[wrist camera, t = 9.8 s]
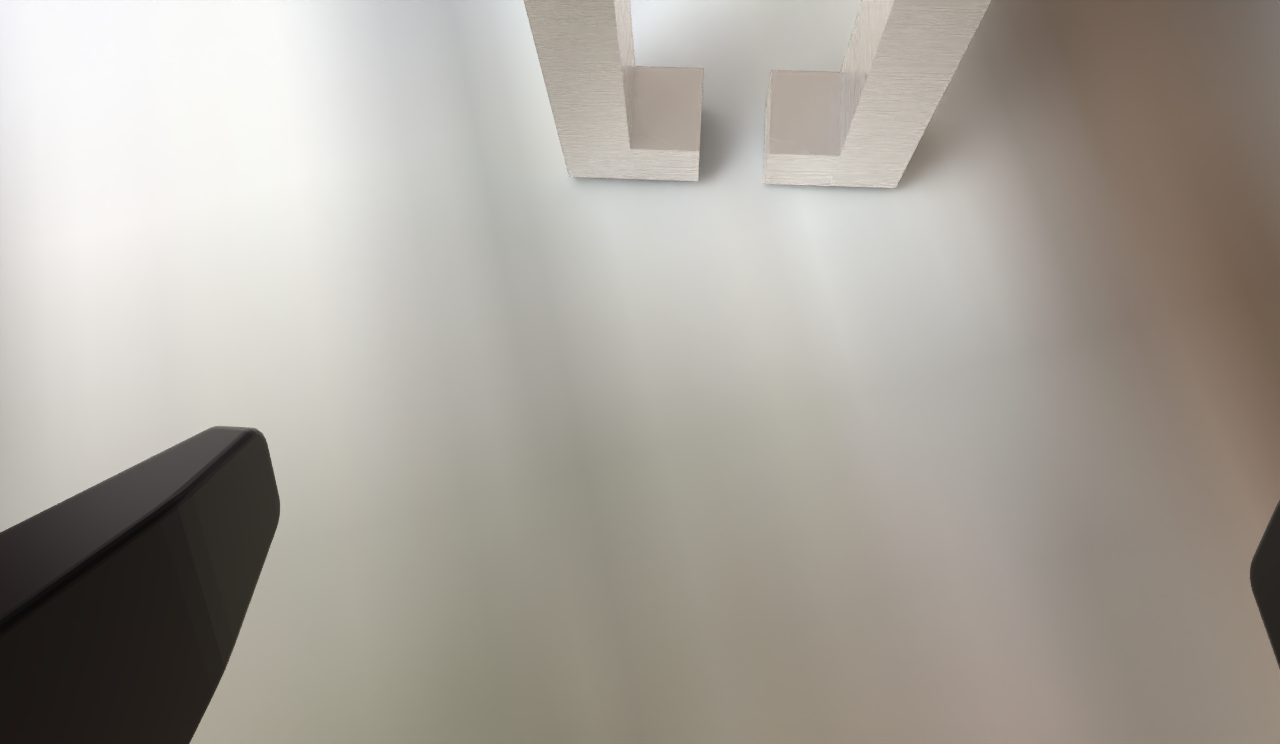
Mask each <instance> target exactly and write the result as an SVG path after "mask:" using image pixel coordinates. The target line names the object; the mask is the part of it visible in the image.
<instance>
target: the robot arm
mask: <svg viewBox="0 0 1280 744" xmlns="http://www.w3.org/2000/svg"><path fill="white" fill-rule="evenodd" d="M279 516H280V500H279V494H278V490H277V485H276V481H275V476H274V471H273V467H272V462H271V458H270V453H269V449H268V445H267V442H266V439H265V437H264V435H263V434H262V433H261V432H260V431H259V430H257V429H255V428H246V427H230V426H215V427H211V428H209V429H207V430H205V431H203V432H201V433H199V434H197V435H195V436H193V437H191V438H189V439H187V440H185V441H183V442H181V443H179V444H177V445H175V446H173V447H171V448H169V449H167V450H165V451H163V452H161V453H159V454H157V455H155V456H153V457H151V458H149V459H147V460H145V461H143V462H141V463H139V464H137V465H135V466H133V467H131V468H129V469H127V470H125V471H123V472H121V473H119V474H117V475H115V476H113V477H111V478H109V479H107V480H105V481H103V482H101V483H99V484H97V485H95V486H93V487H91V488H89V489H87V490H85V491H83V492H81V493H79V494H77V495H75V496H73V497H71V498H69V499H67V500H65V501H63V502H61V503H59V504H57V505H55V506H53V507H51V508H49V509H47V510H45V511H43V512H41V513H39V514H37V515H35V516H33V517H31V518H29V519H27V520H25V521H23V522H21V523H19V524H17V525H15V526H13V527H11V528H9V529H7V530H5V531H3V532H1V533H0V744H189V743H190V741H191V739H192V737H193V735H194V733H195V731H196V729H197V727H198V725H199V723H200V721H201V719H202V717H203V715H204V713H205V711H206V709H207V707H208V705H209V703H210V701H211V699H212V697H213V695H214V693H215V690H216V688H217V686H218V684H219V682H220V680H221V677H222V675H223V673H224V671H225V669H226V666H227V664H228V661H229V658H230V656H231V653H232V651H233V648H234V646H235V643H236V640H237V637H238V635H239V632H240V629H241V626H242V623H243V621H244V618H245V615H246V612H247V609H248V607H249V604H250V601H251V598H252V596H253V593H254V590H255V587H256V584H257V582H258V579H259V576H260V573H261V570H262V568H263V565H264V562H265V559H266V556H267V554H268V551H269V548H270V545H271V542H272V540H273V537H274V534H275V531H276V528H277V525H278V521H279ZM1250 581H1251V587H1252V591H1253V594H1254V597H1255V600H1256V603H1257V606H1258V608H1259V611H1260V614H1261V617H1262V620H1263V623H1264V626H1265V628H1266V631H1267V634H1268V637H1269V640H1270V643H1271V646H1272V648H1273V651H1274V654H1275V657H1276V660H1277V663H1278V666H1279V668H1280V501H1279V502H1278V504H1277V506H1276V508H1275V510H1274V513H1273V515H1272V517H1271V519H1270V521H1269V524H1268V526H1267V528H1266V530H1265V532H1264V535H1263V537H1262V539H1261V541H1260V544H1259V546H1258V548H1257V550H1256V552H1255V555H1254V557H1253V560H1252V563H1251V568H1250Z"/></svg>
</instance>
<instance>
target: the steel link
mask: <svg viewBox="0 0 1280 744" xmlns="http://www.w3.org/2000/svg"><path fill="white" fill-rule="evenodd" d="M990 2H991V0H862V2H861V5H860V9H859V12H858V15H857V19H856V22H855V25H854V29H853V32H852V35H851V39H850V42H849V46H848V49H847V52H846V56H845V59H844V62H843V66H842V69H841V72H814V71H780V70H772V71H771V77H770V83H769V89H768V95H767V101H766V117H765V151H764V184H789V185H818V186H846V187H874V188H896V186H897V185H898V183H899V181H900V179H901V177H902V175H903V173H904V171H905V169H906V167H907V165H908V163H909V161H910V159H911V157H912V155H913V153H914V151H915V149H916V147H917V145H918V143H919V141H920V139H921V137H922V135H923V134H924V132H925V130H926V128H927V126H928V124H929V122H930V120H931V118H932V116H933V114H934V112H935V110H936V108H937V106H938V104H939V102H940V100H941V98H942V96H943V94H944V92H945V90H946V88H947V86H948V84H949V83H950V81H951V79H952V77H953V75H954V73H955V71H956V69H957V67H958V65H959V63H960V61H961V59H962V57H963V55H964V53H965V51H966V49H967V47H968V45H969V43H970V41H971V39H972V37H973V35H974V33H975V32H976V30H977V28H978V26H979V24H980V22H981V20H982V18H983V16H984V14H985V12H986V10H987V8H988V6H989V4H990ZM524 4H525V7H526V11H527V15H528V19H529V23H530V27H531V31H532V35H533V39H534V42H535V46H536V50H537V54H538V58H539V62H540V66H541V70H542V74H543V77H544V81H545V85H546V89H547V93H548V97H549V101H550V105H551V109H552V112H553V116H554V120H555V124H556V128H557V132H558V136H559V140H560V144H561V147H562V151H563V155H564V159H565V163H566V167H567V171H568V175H569V177H590V178H619V179H647V180H675V181H698V176H699V154H700V133H701V111H702V88H703V68H677V67H642V66H635V54H634V42H633V30H632V18H631V6H630V0H524Z"/></svg>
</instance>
